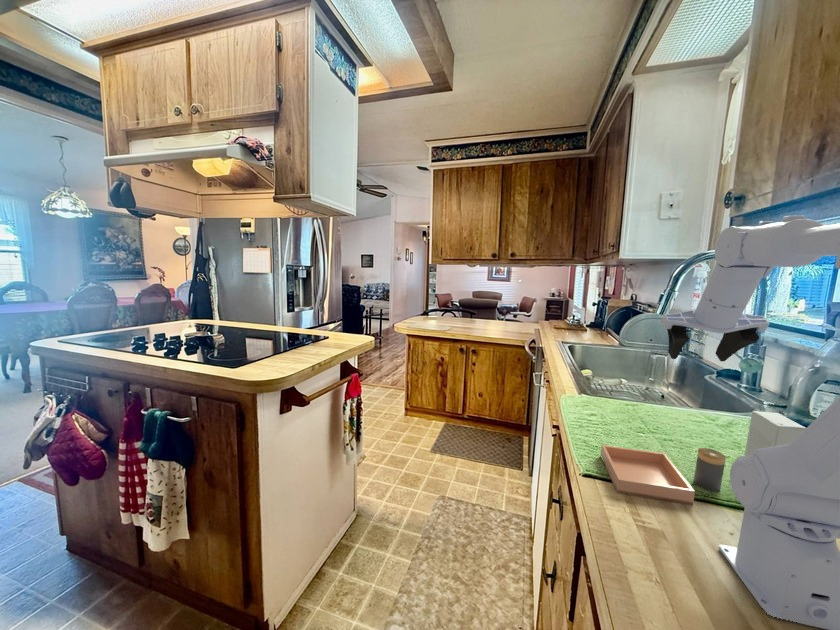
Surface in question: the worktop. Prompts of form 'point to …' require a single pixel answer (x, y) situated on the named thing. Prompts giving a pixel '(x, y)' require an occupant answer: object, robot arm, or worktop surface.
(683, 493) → the dish
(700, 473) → the cell
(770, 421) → the skincare box
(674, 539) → the worktop surface
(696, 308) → the robot arm
